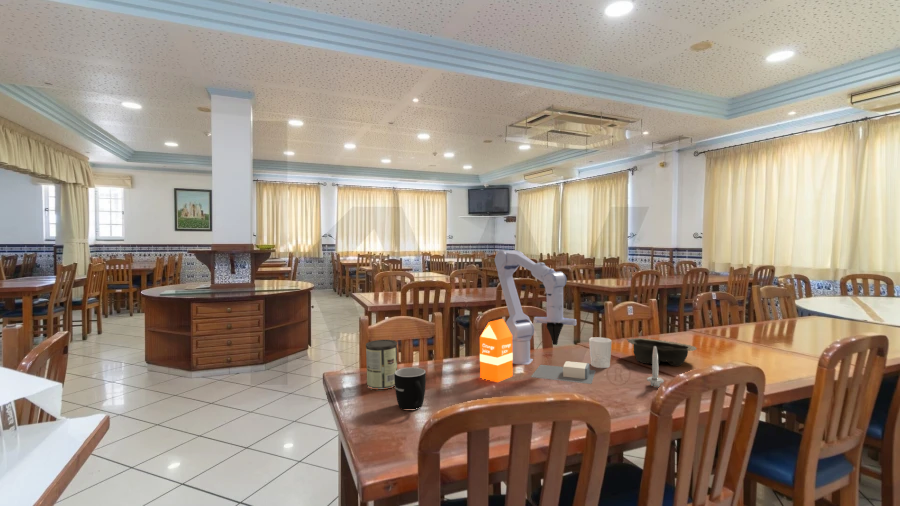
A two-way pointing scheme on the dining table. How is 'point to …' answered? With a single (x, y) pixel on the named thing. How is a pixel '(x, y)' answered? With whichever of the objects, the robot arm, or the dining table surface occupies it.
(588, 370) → the beige rectangular block
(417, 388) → the mug
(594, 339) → the white cup
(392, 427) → the dining table surface
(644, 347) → the stone bowl
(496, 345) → the orange juice
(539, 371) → the mat
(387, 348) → the coffee can
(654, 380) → the screw
